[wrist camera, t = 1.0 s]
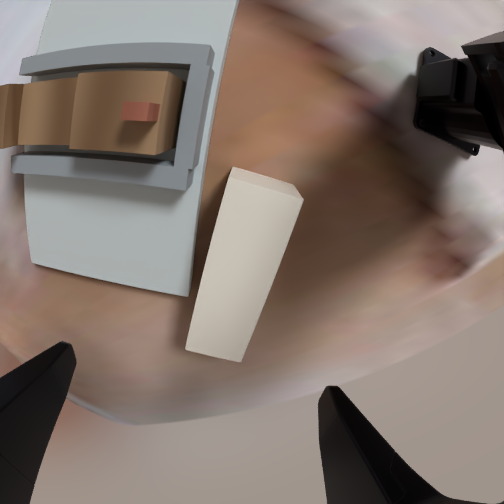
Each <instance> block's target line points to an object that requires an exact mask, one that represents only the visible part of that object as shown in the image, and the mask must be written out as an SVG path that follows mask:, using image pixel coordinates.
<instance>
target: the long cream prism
mask: <svg viewBox="0 0 504 504" xmlns="http://www.w3.org/2000/svg"><path fill="white" fill-rule="evenodd" d="M303 200H304V199H303V198H302V196H301V195H300V193H299V192H298V190H297V189H296V188H295V186H294V185H293V184H290V183H286V182H283V181H280V180H277V179H274V178H270V177H267V176H264V175H260V174H257V173H253V172H250V171H247V170H243V169H240V168H236V167H232V170H231V173H230V175H229V178H228V181H227V185H226V188H225V192H224V195H223V199H222V203H221V206H220V210H219V213H218V217H217V221H216V224H215V228H214V232H213V236H212V239H211V243H210V247H209V251H208V255H207V259H206V263H205V267H204V271H203V274H202V279H201V283H200V287H199V291H198V295H197V299H196V303H195V307H194V312H193V316H192V320H191V325H190V329H189V333H188V338H187V342H186V347H185V350H188V351H192V352H196V353H200V354H204V355H209V356H213V357H217V358H222V359H226V360H231V361H235V362H240V363H241V361H242V358H243V356H244V353H245V351H246V349H247V346H248V344H249V341H250V339H251V336H252V334H253V331H254V329H255V326H256V324H257V321H258V319H259V316H260V314H261V311H262V309H263V306H264V304H265V301H266V299H267V296H268V294H269V291H270V288H271V286H272V283H273V281H274V278H275V275H276V273H277V270H278V268H279V265H280V262H281V260H282V257H283V255H284V252H285V249H286V247H287V244H288V241H289V239H290V236H291V233H292V230H293V228H294V225H295V222H296V220H297V217H298V214H299V211H300V209H301V206H302V203H303Z"/></svg>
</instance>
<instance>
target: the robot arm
mask: <svg viewBox="0 0 504 504" xmlns="http://www.w3.org/2000/svg"><path fill="white" fill-rule="evenodd" d="M461 47H462V49H463V51H464V53H465V55H467V56H468V58H463V59H457V58H453V59H451V58H450V57H448V56H446V55H444V54H443V53H441V52H439V51H437V50H436V49H434V48H431V47H429V48H426V49H425V50H424V56H423V64H422V66H421V67H420V75H419V81H418V88H417V94H416V97H417V104H416V109H415V114H414V120H413V123H414V126H415V128H417V129H418V130H421V131H423V132H425V133H428V134H430V135H432V136H434V137H436V138H438V139H441V140H443V141H445V142H447V143H449V144H451V145H453V146H455V147H457V148H459V149H461V150H463V151H465V152H466V153H468V154H470V155H474V156H476V155H477V154H478V152H479V148H480V145H483V146H487V147H491V148H495V149H499V150H503V152H504V31H503V32H498V33H495V34H492V35H489V36H487V37H484V38H481V39H478V40H475V41H473V42H470V43H467V44H465V45H462V46H461ZM430 52H431V53H432V56H431V55H430ZM420 120H421V121H422V125H421V126H420V124H419V121H420ZM473 147H474V151H473ZM75 367H76V357H75V354H74V350H73V347H72V345H71V344H70V343H67V342H63V341H61V342H59V343H57V344H55V345H54V346H52V347H50V348H49V349H47V350H45V351H44V352H42V353H40V354H39V355H37V356H35V357H34V358H32V359H30V360H29V361H27V362H25V363H24V364H22V365H20V366H19V367H17V368H16V369H14V370H13V371H11V372H9V373H7V374H6V375H4V376H2V377H1V378H0V504H30V500H31V496H32V493H33V489H34V484H35V481H36V478H37V475H38V472H39V469H40V466H41V462H42V459H43V456H44V453H45V451H46V448H47V445H48V442H49V440H50V437H51V434H52V432H53V429H54V426H55V424H56V421H57V419H58V416H59V413H60V411H61V409H62V406H63V404H64V401H65V399H66V396H67V393H68V389H69V386H70V383H71V379H72V376H73V373H74V370H75ZM318 420H319V445H320V451H321V459H322V467H323V474H324V482H325V489H326V497H327V504H486V503H478V502H470V501H464V500H458V499H452V498H449V497H446V496H444V495H442V494H441V493H440V492H438V491H437V490H436V489H435V488H433V487H432V486H431V485H430V484H429V483H427V482H426V481H425V480H424V479H423V478H422V477H421V476H419V475H418V474H417V473H416V472H415V471H414V470H413V469H412V468H411V467H410V466H409V465H408V464H407V463H406V462H405V461H404V460H403V459H402V458H401V457H400V456H399V455H398V454H397V453H396V452H395V450H394V449H393V448H392V447H391V446H390V445H389V443H388V442H387V441H386V440H385V439H384V438H383V437H382V436H381V435H380V433H379V432H378V431H377V430H376V429H375V428H374V427H373V426H372V424H371V423H370V422H369V421H368V420H367V419H366V418H365V416H364V415H363V414H362V413H361V412H360V411H359V409H358V408H357V407H356V406H355V405H354V404H353V403H352V401H351V400H350V399H349V398H348V397H347V396H346V394H345V393H344V392H343V391H342V390H341V389H340V388H339V387H338V386H327V387H326V388H325V389H324V391H323V393H322V395H321V397H320V399H319V402H318ZM498 504H504V501H503V502H501V503H498Z"/></svg>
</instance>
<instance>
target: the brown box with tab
mask: <svg viewBox="0 0 504 504" xmlns="http://www.w3.org/2000/svg"><path fill="white" fill-rule="evenodd" d="M186 83H187V82H185V81H183V80H182V79H180V78H178V77H177V76H175V75H174V74H172V73H170V72H168V71H102V72H87V73H79V74H78V77H73V78H63V79H55V80H47V81H40V82H34V83H28V84H6V85H2V86H0V149H3V148H7V147H12V146H16V145H70V147H69V149H82V150H100V151H114V152H127V153H138V154H148V155H157V154H160V153H163V152H165V151H168V150H171V149H174V148H176V143H177V136H178V130H179V123H180V117H181V111H182V105H183V100H184V94H185V89H186Z"/></svg>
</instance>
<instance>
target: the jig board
mask: <svg viewBox="0 0 504 504" xmlns="http://www.w3.org/2000/svg"><path fill="white" fill-rule="evenodd" d="M238 3H239V0H52V1H51V4H50V7H49V10H48V13H47V16H46V20H45V23H44V26H43V30H42V33H41V37H40V41H39V45H38V49H37V53H36V55H35V56H31V57H26V58H22V63H21V68H20V73H19V75H25V76H32V79H31V83H34V82H40V81H47V80H55V79H63V78H73V77H78V74H79V73H87V72H102V71H168V72H170V73H172V74H174V75H175V76H177V77H178V78H180V79H182V80H183V81H185V82H187V83H186V89H185V94H184V100H183V105H182V111H181V117H180V123H179V130H178V136H177V143H176V148H174V149H171V150H168V151H165V152H163V153H160V154H157V155H148V154H138V153H127V152H114V151H100V150H82V149H69V147H70V145H24V152H23V153H19V154H16V155H12V156H11V173H23V174H24V194H25V211H26V222H27V232H28V241H29V248H30V255H31V261H32V263H35V264H39V265H43V266H46V267H50V268H54V269H58V270H62V271H66V272H70V273H75V274H79V275H83V276H87V277H92V278H96V279H101V280H105V281H110V282H114V283H119V284H124V285H128V286H133V287H138V288H143V289H148V290H153V291H158V292H164V293H169V294H174V295H180V296H185V297H188V296H189V293H190V290H191V283H192V273H193V263H194V254H195V245H196V236H197V227H198V219H199V212H200V204H201V197H202V189H203V182H204V176H205V169H206V162H207V156H208V150H209V143H210V137H211V132H212V126H213V120H214V114H215V109H216V104H217V98H218V93H219V88H220V83H221V78H222V73H223V68H224V63H225V59H226V54H227V50H228V45H229V41H230V36H231V32H232V28H233V23H234V19H235V15H236V11H237V7H238Z"/></svg>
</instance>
